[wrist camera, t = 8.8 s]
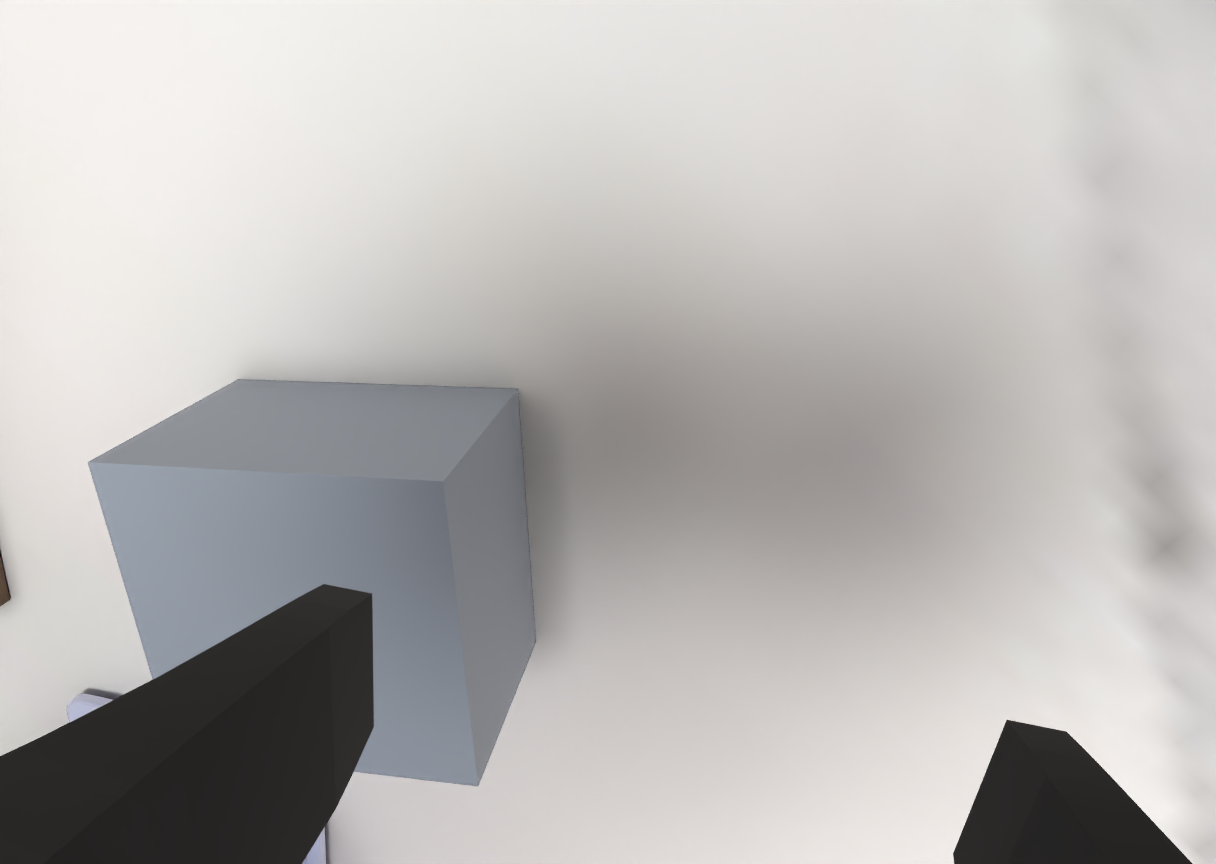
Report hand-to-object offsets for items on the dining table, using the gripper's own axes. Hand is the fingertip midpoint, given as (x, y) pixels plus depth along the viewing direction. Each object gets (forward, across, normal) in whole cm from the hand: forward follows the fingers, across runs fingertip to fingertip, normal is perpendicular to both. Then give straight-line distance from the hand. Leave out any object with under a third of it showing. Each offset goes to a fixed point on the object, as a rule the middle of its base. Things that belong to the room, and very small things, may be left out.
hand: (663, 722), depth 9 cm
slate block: (+10, +7, +4) cm, 13 cm away
